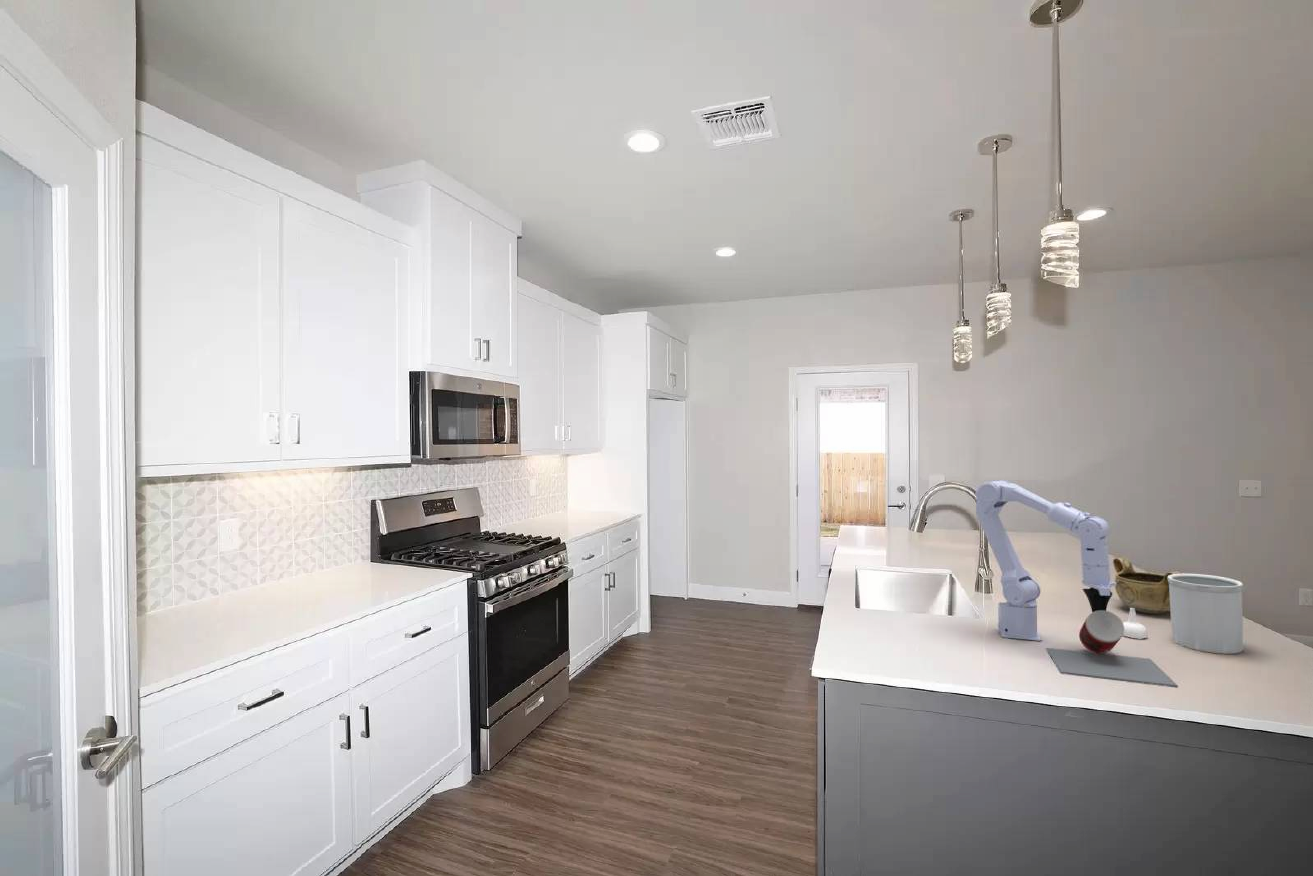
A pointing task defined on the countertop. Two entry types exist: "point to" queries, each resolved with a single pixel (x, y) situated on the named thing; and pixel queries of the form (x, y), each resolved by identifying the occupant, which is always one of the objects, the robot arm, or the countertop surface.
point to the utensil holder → (1206, 612)
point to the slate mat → (1109, 666)
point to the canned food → (1101, 631)
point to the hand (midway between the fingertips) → (1099, 617)
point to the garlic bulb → (1134, 627)
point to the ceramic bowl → (1142, 588)
